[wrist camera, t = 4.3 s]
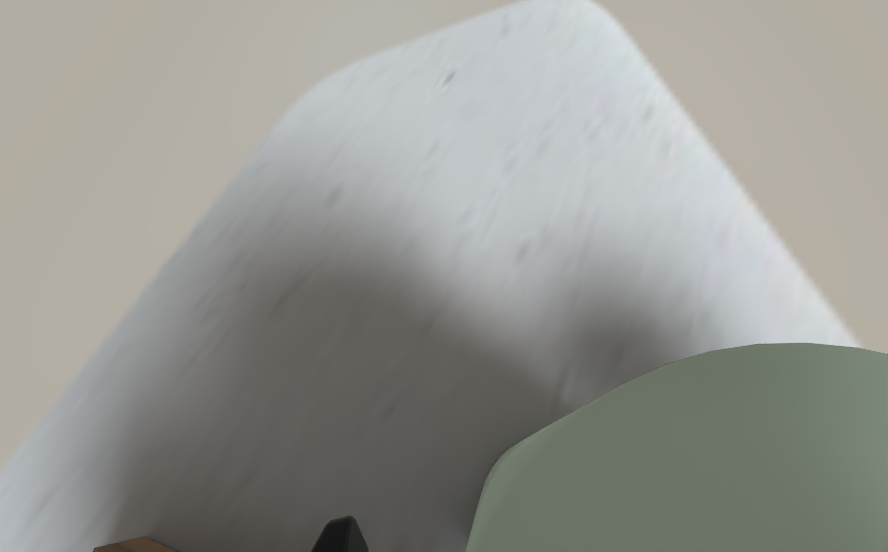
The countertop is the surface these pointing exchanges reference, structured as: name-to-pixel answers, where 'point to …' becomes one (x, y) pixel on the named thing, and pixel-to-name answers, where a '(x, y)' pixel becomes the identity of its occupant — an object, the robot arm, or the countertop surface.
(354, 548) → the robot arm
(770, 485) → the sage cylinder
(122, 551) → the walnut tray
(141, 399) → the countertop surface
